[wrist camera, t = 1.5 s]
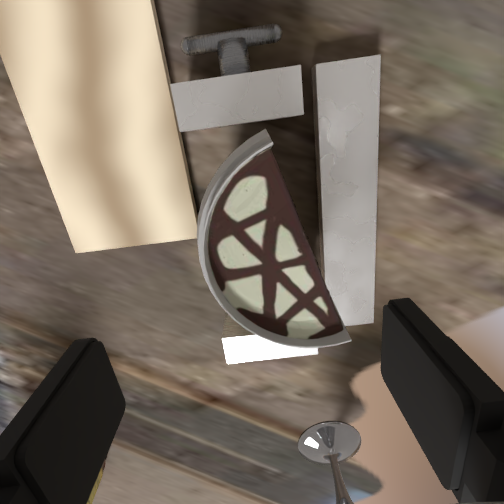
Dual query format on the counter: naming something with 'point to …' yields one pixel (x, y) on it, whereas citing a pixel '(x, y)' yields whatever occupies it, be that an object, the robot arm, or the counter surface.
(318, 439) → the wine glass
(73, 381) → the robot arm
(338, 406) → the counter surface
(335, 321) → the food container
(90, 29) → the light wood flat board
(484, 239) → the counter surface
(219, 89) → the vise
